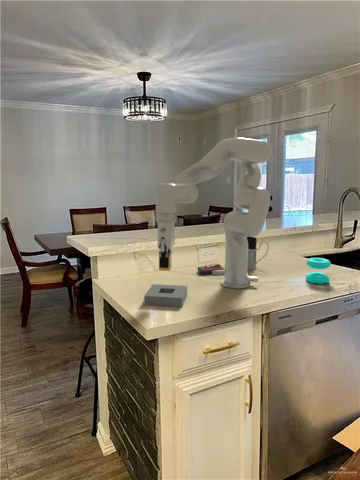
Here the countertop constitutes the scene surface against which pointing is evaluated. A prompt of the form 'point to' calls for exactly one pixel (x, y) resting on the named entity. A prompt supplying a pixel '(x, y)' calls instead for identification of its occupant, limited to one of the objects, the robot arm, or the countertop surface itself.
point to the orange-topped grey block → (168, 262)
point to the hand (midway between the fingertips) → (165, 265)
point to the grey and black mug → (253, 252)
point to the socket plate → (166, 295)
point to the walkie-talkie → (211, 270)
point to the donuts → (317, 276)
